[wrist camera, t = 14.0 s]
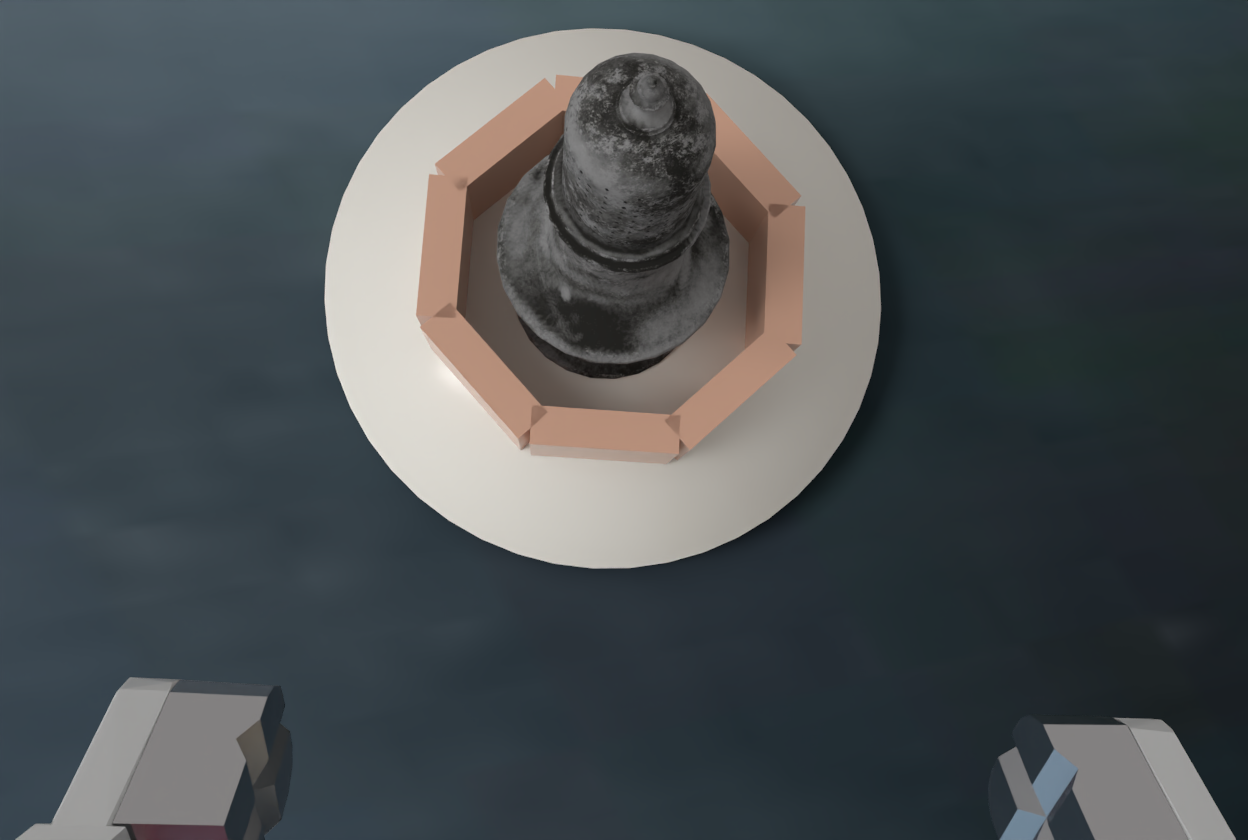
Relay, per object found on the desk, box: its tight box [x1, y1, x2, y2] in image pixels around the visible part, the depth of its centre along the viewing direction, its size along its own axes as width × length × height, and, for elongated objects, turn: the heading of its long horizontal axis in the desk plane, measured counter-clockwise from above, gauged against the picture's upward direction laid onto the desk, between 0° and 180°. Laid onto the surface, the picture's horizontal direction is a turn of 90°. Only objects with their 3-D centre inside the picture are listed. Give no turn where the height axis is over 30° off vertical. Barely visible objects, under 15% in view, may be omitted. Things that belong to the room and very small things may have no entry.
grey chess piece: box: [496, 53, 730, 379], centre depth 21 cm, size 6×6×12 cm
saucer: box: [325, 28, 881, 568], centre depth 27 cm, size 16×16×4 cm
